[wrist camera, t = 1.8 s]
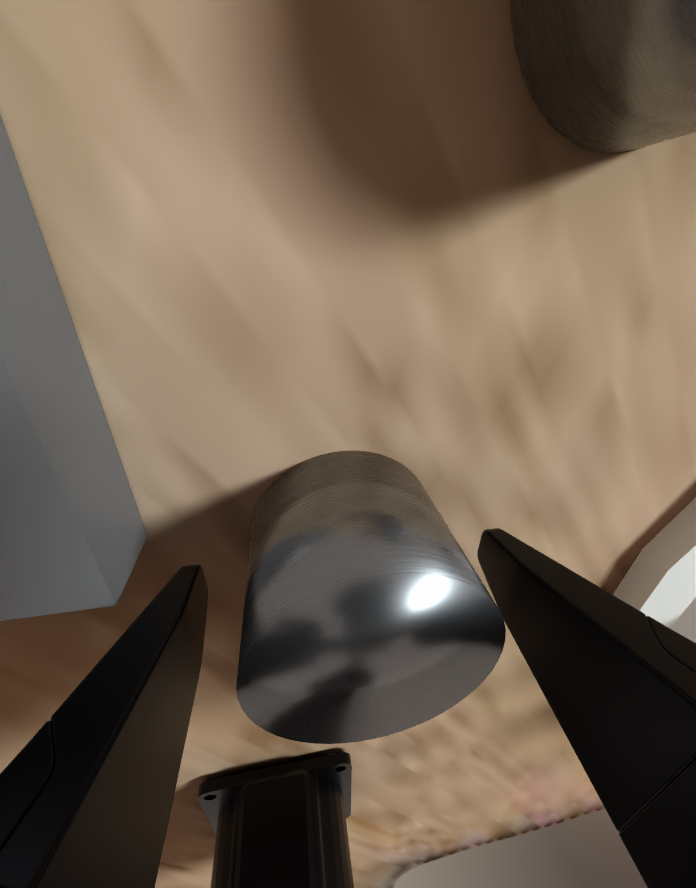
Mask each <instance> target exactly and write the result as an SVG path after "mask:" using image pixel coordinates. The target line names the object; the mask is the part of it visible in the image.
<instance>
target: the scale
mask: <svg viewBox="0 0 696 888" xmlns="http://www.w3.org/2000/svg"><path fill="white" fill-rule="evenodd" d="M146 539H147V534H146V531H145V528H144V525H143V522H142V520H141V517H140V514H139V511H138V508H137V505H136V502H135V499H134V497H133V494H132V491H131V488H130V485H129V482H128V479H127V476H126V474H125V471H124V468H123V465H122V462H121V459H120V456H119V454H118V451H117V448H116V445H115V442H114V439H113V436H112V433H111V431H110V428H109V425H108V422H107V419H106V416H105V413H104V410H103V408H102V405H101V402H100V399H99V396H98V393H97V390H96V388H95V385H94V382H93V379H92V376H91V373H90V370H89V367H88V365H87V362H86V359H85V356H84V353H83V350H82V347H81V344H80V342H79V339H78V336H77V333H76V330H75V327H74V324H73V321H72V319H71V316H70V313H69V310H68V307H67V304H66V301H65V299H64V296H63V293H62V290H61V287H60V284H59V281H58V278H57V276H56V273H55V270H54V267H53V264H52V261H51V258H50V255H49V253H48V250H47V247H46V244H45V241H44V238H43V235H42V233H41V230H40V227H39V224H38V221H37V218H36V215H35V212H34V210H33V207H32V204H31V201H30V198H29V195H28V192H27V189H26V187H25V184H24V181H23V178H22V175H21V172H20V169H19V166H18V164H17V161H16V158H15V155H14V152H13V149H12V146H11V144H10V141H9V138H8V135H7V132H6V129H5V126H4V123H3V121H2V118H1V115H0V621H6V620H13V619H21V618H28V617H36V616H43V615H51V614H58V613H65V612H73V611H80V610H88V609H95V608H103V607H110V606H116V605H117V603H118V600H119V598H120V596H121V594H122V592H123V589H124V587H125V585H126V583H127V581H128V579H129V576H130V574H131V572H132V570H133V568H134V565H135V563H136V561H137V559H138V557H139V555H140V552H141V550H142V548H143V546H144V544H145V541H146Z"/></svg>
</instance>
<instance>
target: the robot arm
mask: <svg viewBox="0 0 696 888" xmlns="http://www.w3.org/2000/svg"><path fill="white" fill-rule="evenodd" d="M478 560H479V563H480V565H481V568H482V570H483V572H484V575H485V577H486V580H487V582H488V585H489V587H490V589H491V592H492V594H493V597H494V599H495V601H496V604H497V606H498V608H499V610H500V612H501V615H502V617H503V619H504V621H505V623H506V625H507V627H508V628H509V630H510V632H511V634H512V636H513V638H514V640H515V641H516V643H517V645H518V647H519V649H520V651H521V653H522V654H523V656H524V658H525V660H526V662H527V664H528V666H529V667H530V669H531V671H532V673H533V675H534V677H535V679H536V680H537V682H538V684H539V686H540V688H541V690H542V692H543V693H544V695H545V697H546V699H547V701H548V703H549V705H550V706H551V708H552V710H553V712H554V714H555V716H556V718H557V720H558V721H559V723H560V725H561V727H562V729H563V731H564V733H565V734H566V736H567V738H568V740H569V742H570V744H571V746H572V747H573V749H574V751H575V753H576V755H577V757H578V759H579V760H580V762H581V764H582V766H583V768H584V770H585V772H586V773H587V775H588V777H589V779H590V781H591V783H592V785H593V786H594V788H595V790H596V792H597V794H598V796H599V798H600V799H601V801H602V803H603V805H604V807H605V809H606V811H607V812H608V814H609V816H610V818H611V820H612V822H613V824H614V825H615V827H616V829H617V830H618V831H619V835H620V837H621V839H622V841H623V843H624V845H625V846H626V848H627V850H628V852H629V854H630V856H631V857H632V859H633V861H634V863H635V865H636V867H637V869H638V871H639V872H640V874H641V876H642V878H643V880H644V882H645V884H646V885H647V887H648V888H696V643H695V642H693V641H691V640H690V639H688V638H686V637H684V636H682V635H681V634H679V633H677V632H675V631H674V630H672V629H670V628H668V627H667V626H665V625H663V624H662V623H660V622H658V621H657V620H655V619H653V618H651V617H650V616H646V615H645V614H644V613H643V612H641V611H639V610H638V609H636V608H634V607H633V606H631V605H629V604H627V603H626V602H624V601H622V600H621V599H619V598H617V597H615V596H614V595H612V594H610V593H609V592H607V591H605V590H604V589H602V588H600V587H598V586H597V585H595V584H593V583H592V582H590V581H588V580H587V579H585V578H583V577H581V576H580V575H578V574H576V573H575V572H573V571H571V570H570V569H568V568H566V567H564V566H563V565H561V564H559V563H558V562H556V561H554V560H553V559H551V558H549V557H547V556H546V555H544V554H542V553H541V552H539V551H537V550H535V549H534V548H532V547H530V546H529V545H527V544H525V543H524V542H522V541H520V540H518V539H517V538H515V537H513V536H512V535H510V534H508V533H507V532H505V531H503V530H501V529H499V528H495V529H487V530H484V531H483V533H482V536H481V540H480V544H479V548H478ZM207 603H208V588H207V584H206V580H205V576H204V573H203V569H202V567H201V566H200V565H191V566H184V567H182V568H180V569H179V571H178V572H177V573H176V574H175V575H174V576H173V578H172V579H171V580H170V581H169V582H168V583H167V584H166V586H165V587H164V588H163V589H162V590H161V591H160V592H159V594H158V595H157V596H156V597H155V598H154V599H153V600H152V602H151V603H150V604H149V605H148V606H147V607H146V608H145V610H144V611H143V612H142V613H141V614H140V615H139V617H138V618H137V619H136V620H135V621H134V622H133V623H132V625H131V626H130V627H129V628H128V629H127V630H126V631H125V633H124V634H123V635H122V636H121V637H120V638H119V639H118V641H117V642H116V643H115V644H114V645H113V646H112V648H111V649H110V650H109V651H108V652H107V653H106V654H105V656H104V657H103V658H102V659H101V660H100V661H99V662H98V664H97V665H96V666H95V667H94V668H93V669H92V670H91V672H90V673H89V674H88V675H87V676H86V677H85V679H84V680H83V681H82V682H81V683H80V684H79V685H78V687H77V688H76V689H75V690H74V691H73V692H72V693H71V695H70V696H69V697H68V698H67V699H66V700H65V701H64V703H63V704H62V705H61V706H60V707H59V708H58V709H57V711H56V712H55V713H54V714H53V715H52V717H51V721H47V722H46V723H45V724H44V725H43V726H42V728H41V729H40V730H39V731H38V732H37V733H36V734H35V736H34V737H33V738H32V739H31V740H30V741H29V743H28V744H27V745H26V746H25V747H24V748H23V749H22V750H21V751H20V753H19V754H18V755H17V756H16V757H15V758H14V759H13V760H12V761H11V763H10V764H9V765H8V766H7V767H6V768H5V769H4V770H3V771H2V773H1V774H0V888H154V887H155V882H156V878H157V873H158V868H159V863H160V859H161V854H162V849H163V844H164V840H165V835H166V830H167V826H168V821H169V816H170V811H171V807H172V802H173V797H174V792H175V788H176V783H177V778H178V773H179V769H180V764H181V759H182V754H183V750H184V745H185V740H186V735H187V731H188V726H189V721H190V716H191V712H192V707H193V702H194V697H195V693H196V688H197V683H198V678H199V673H200V668H201V662H202V653H203V643H204V633H205V623H206V613H207ZM351 770H352V766H351V759H350V754H349V753H346V752H341V753H335V754H331V755H326V756H321V757H316V758H312V759H307V760H302V761H297V762H293V763H288V764H283V765H278V766H274V767H269V768H264V769H260V770H255V771H250V772H245V773H241V774H236V775H231V776H226V777H222V778H217V779H212V780H208V781H205V782H203V783H201V785H200V787H199V793H198V802H199V804H200V806H201V808H202V810H203V812H204V814H205V816H206V818H207V820H208V822H209V824H210V826H211V828H212V831H213V833H214V835H215V837H216V842H215V851H214V861H213V870H212V879H211V888H354V884H353V876H352V868H351V859H350V851H349V842H348V834H347V826H346V818H348V817H349V816H350V813H351Z"/></svg>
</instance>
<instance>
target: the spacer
mask: <svg viewBox="0 0 696 888" xmlns="http://www.w3.org/2000/svg"><path fill="white" fill-rule="evenodd" d="M505 632H506V630H505V624H504V619H503V617H502V615H501V612H500V610H499V609H498V607H497V605H496V604H495V602H494V601H493V599H492V597H491V596H490V594H489V593H488V591H487V589H486V588H485V586H484V584H483V583H482V581H481V580H480V578H479V576H478V575H477V573H476V572H475V570H474V568H473V567H472V565H471V563H470V562H469V560H468V559H467V557H466V555H465V554H464V552H463V550H462V549H461V547H460V546H459V544H458V542H457V541H456V539H455V538H454V536H453V534H452V533H451V531H450V529H449V528H448V526H447V525H446V523H445V521H444V520H443V518H442V517H441V515H440V513H439V512H438V510H437V508H436V507H435V505H434V504H433V502H432V500H431V499H430V497H429V495H428V494H427V492H426V491H425V489H424V487H423V486H422V484H421V483H420V481H419V480H418V478H417V477H416V476H415V475H414V474H413V473H412V472H411V471H410V470H409V469H408V468H406V467H405V466H404V465H402V464H401V463H399V462H397V461H395V460H393V459H392V458H389V457H386V456H383V455H381V454H376V453H372V452H365V451H340V452H333V453H328V454H324V455H320V456H317V457H314V458H311V459H309V460H306V461H304V462H302V463H300V464H298V465H296V466H294V467H293V468H291V469H290V470H288V471H287V472H285V473H284V474H282V475H281V476H280V477H279V478H278V479H277V480H276V481H274V482H273V483H272V485H271V486H270V487H269V488H268V489H267V490H266V492H265V493H264V495H263V496H262V498H261V499H260V501H259V503H258V505H257V507H256V510H255V513H254V516H253V520H252V530H251V540H250V551H249V561H248V572H247V582H246V593H245V603H244V613H243V624H242V634H241V645H240V655H239V666H238V676H237V687H236V688H237V696H238V700H239V703H240V705H241V708H242V709H243V711H244V712H245V713H246V715H247V716H248V717H249V718H250V719H251V720H252V721H253V722H254V723H255V724H256V725H258V726H259V727H261V728H262V729H264V730H266V731H268V732H270V733H272V734H274V735H277V736H280V737H283V738H286V739H290V740H295V741H300V742H307V743H321V744H335V743H349V742H358V741H364V740H369V739H374V738H378V737H383V736H387V735H390V734H393V733H397V732H400V731H403V730H406V729H408V728H411V727H414V726H416V725H418V724H421V723H423V722H425V721H427V720H430V719H431V718H433V717H435V716H437V715H439V714H441V713H443V712H444V711H446V710H448V709H449V708H451V707H453V706H454V705H456V704H457V703H458V702H460V701H461V700H463V699H464V698H465V697H466V696H468V695H469V694H470V693H471V692H472V691H474V690H475V689H476V688H477V687H478V686H479V685H480V684H481V683H482V682H483V681H484V680H485V678H486V677H487V676H488V675H489V673H490V672H491V671H492V669H493V668H494V666H495V665H496V663H497V661H498V660H499V657H500V655H501V653H502V650H503V647H504V643H505Z"/></svg>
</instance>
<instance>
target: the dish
mask: <svg viewBox="0 0 696 888" xmlns="http://www.w3.org/2000/svg"><path fill="white" fill-rule="evenodd" d="M613 595H614V596H615V597H617V598H619V599H621V600H622V601H624V602H626V603H627V604H629V605H631V606H633V607H634V608H636V609H638V610H639V611H641V612H643V613H644V614H645V615H646V616H650V617H651V618H653V619H655V620H657V621H658V622H660V623H662V624H663V625H665V626H667V627H668V628H670V629H672V630H674V631H675V632H677V633H679V634H681V635H682V636H684V637H686V638H688V639H690V640H691V641H693V642H695V643H696V497H695V498H694V499H693V500H692V501H691V502H690V503H689V504H688V505H687V506H686V507H685V508H684V509H683V510H682V511H681V512H680V513H679V514H678V515H677V516H676V517H675V518H674V519H673V520H672V521H671V522H669V523H668V524H667V525H666V526H665V527H664V528H663V529H662V530H661V531H660V532H659V533H658V534H657V535H656V536H655V537H654V538H653V539H652V540H651V541H650V542H649V543H648V544H647V545H646V546H645V547H644V548H643V549H642V550H641V552H640V553H639V555H638V557H637V558H636V560H635V561H634V563H633V564H632V566H631V567H630V569H629V570H628V572H627V573H626V575H625V577H624V578H623V580H622V581H621V583H620V584H619V586H618V587H617V589H616V590H615V592H614V593H613Z"/></svg>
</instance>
